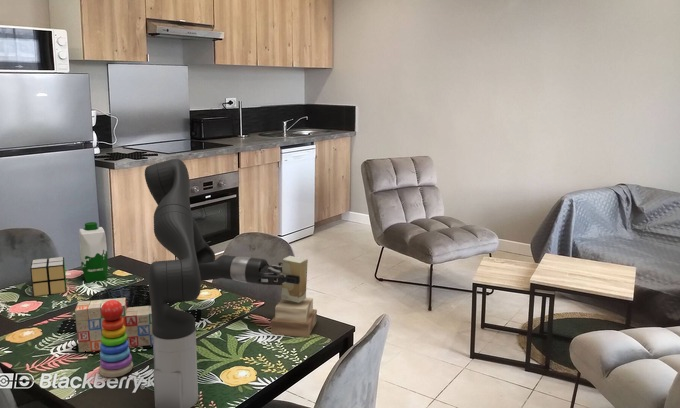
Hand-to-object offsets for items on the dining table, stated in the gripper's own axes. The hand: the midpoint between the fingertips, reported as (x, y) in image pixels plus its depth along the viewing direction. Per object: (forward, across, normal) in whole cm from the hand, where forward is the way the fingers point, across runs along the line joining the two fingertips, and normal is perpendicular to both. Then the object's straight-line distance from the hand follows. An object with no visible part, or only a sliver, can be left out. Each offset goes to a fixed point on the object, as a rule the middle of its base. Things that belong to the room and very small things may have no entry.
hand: (302, 277), depth 166 cm
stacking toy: (-35, -38, +17) cm, 54 cm away
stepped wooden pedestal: (-2, 0, +16) cm, 16 cm away
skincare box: (-3, 0, +7) cm, 8 cm away
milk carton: (-86, +16, +17) cm, 89 cm away
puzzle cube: (-92, +1, +17) cm, 94 cm away
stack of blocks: (-44, -25, +17) cm, 53 cm away
